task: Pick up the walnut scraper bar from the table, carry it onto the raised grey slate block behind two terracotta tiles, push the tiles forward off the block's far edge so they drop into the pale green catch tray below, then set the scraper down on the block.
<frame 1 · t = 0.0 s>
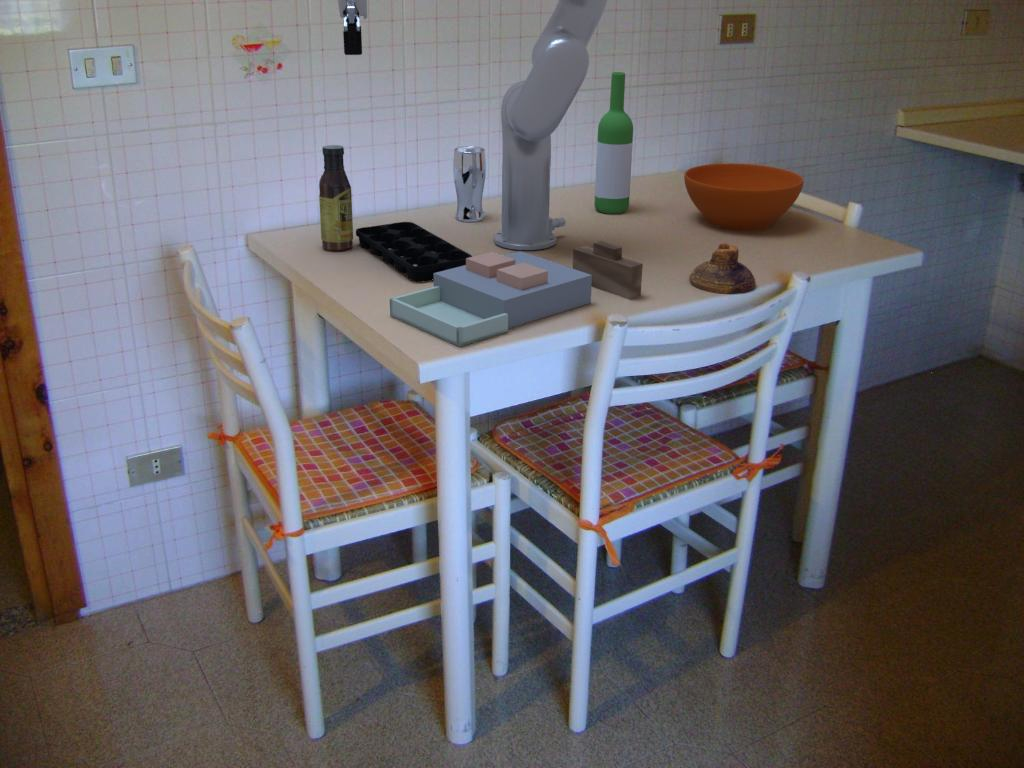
hand: (353, 51, 196), 37 cm above the table, tool pointing down, fingers open, 9 cm apart
bell: (722, 285, 194), on the table
board: (512, 301, 183), on the table
tile a: (490, 270, 182), point 5 cm above the table, touching board
scraper: (605, 288, 190), on the table
wine bottle: (611, 211, 239), on the table
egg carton: (412, 261, 205), on the table
sauce bottle: (338, 248, 211), on the table
beer glass: (469, 219, 232), on the table
tile b: (522, 281, 177), point 5 cm above the table, touching board
bowl: (738, 222, 232), on the table
tray: (447, 323, 173), on the table
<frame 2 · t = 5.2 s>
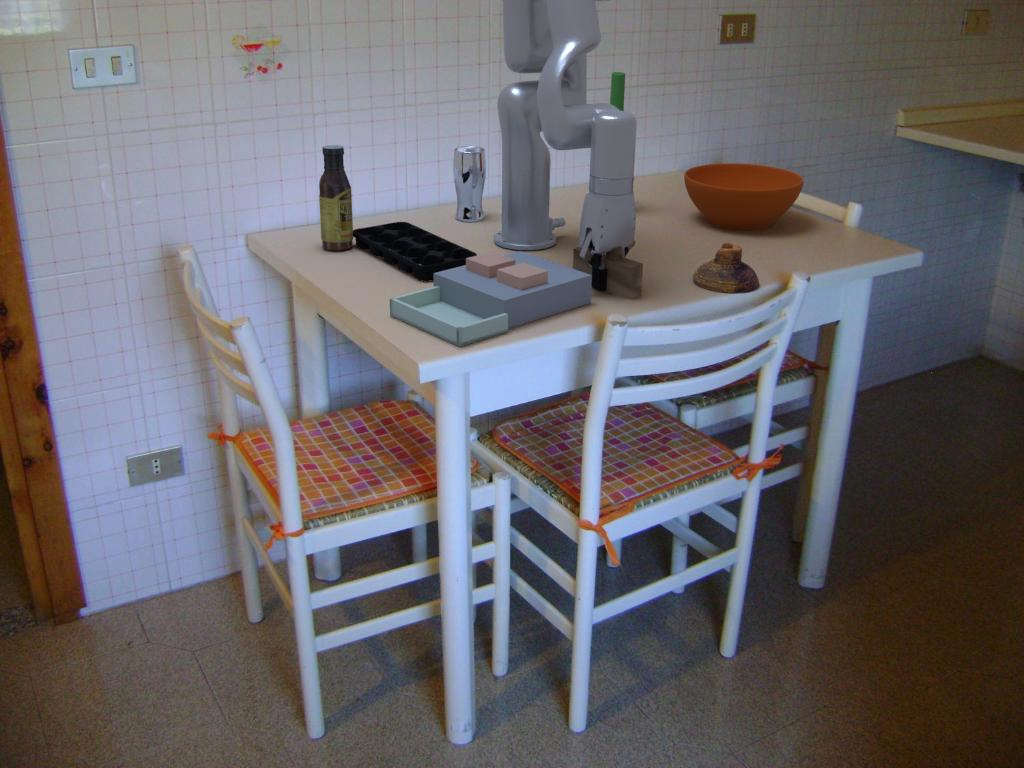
hand: (606, 286, 190), 0 cm above the table, tool pointing down, fingers closed on scraper, 3 cm apart
scraper: (605, 288, 190), on the table, touching gripper
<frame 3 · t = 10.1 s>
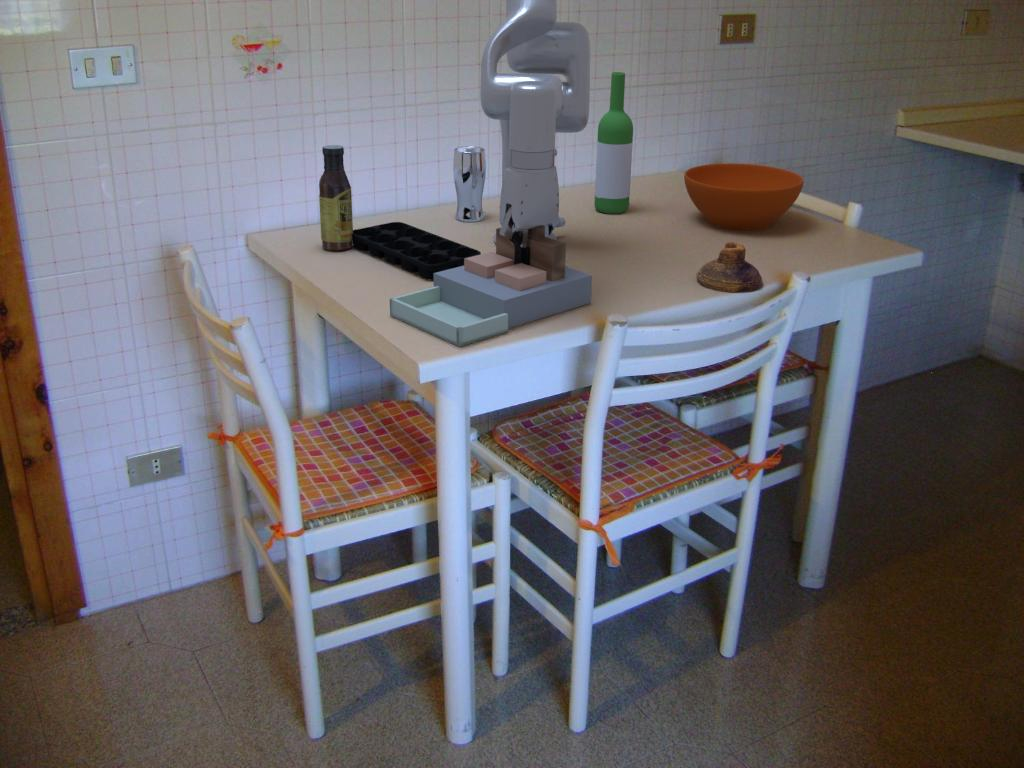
hand: (529, 265, 183), 6 cm above the table, tool pointing down, fingers closed on scraper, 3 cm apart
tile a: (488, 270, 182), point 5 cm above the table, touching gripper
scraper: (529, 269, 183), point 5 cm above the table, touching gripper
tile b: (520, 282, 177), point 5 cm above the table
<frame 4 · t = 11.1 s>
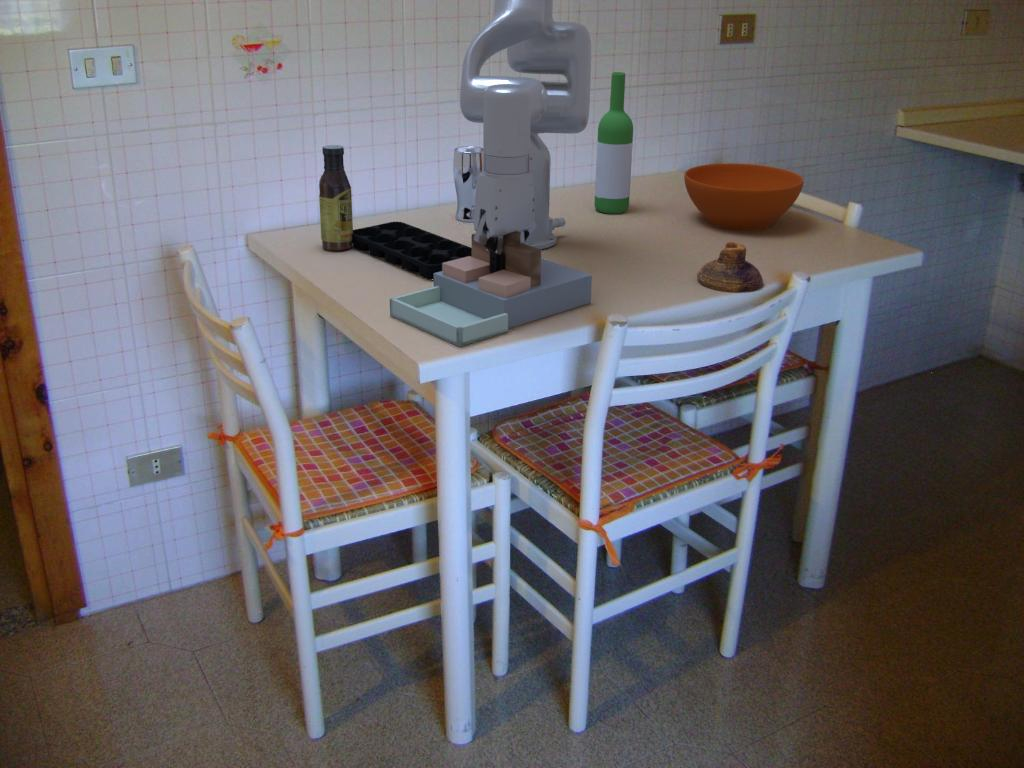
hand: (505, 271, 179), 6 cm above the table, tool pointing down, fingers closed on scraper, 3 cm apart
tile a: (467, 274, 180), point 5 cm above the table, touching scraper
scraper: (505, 275, 180), point 5 cm above the table, touching gripper, tile a, tile b
tile b: (504, 289, 173), point 5 cm above the table, touching board, scraper
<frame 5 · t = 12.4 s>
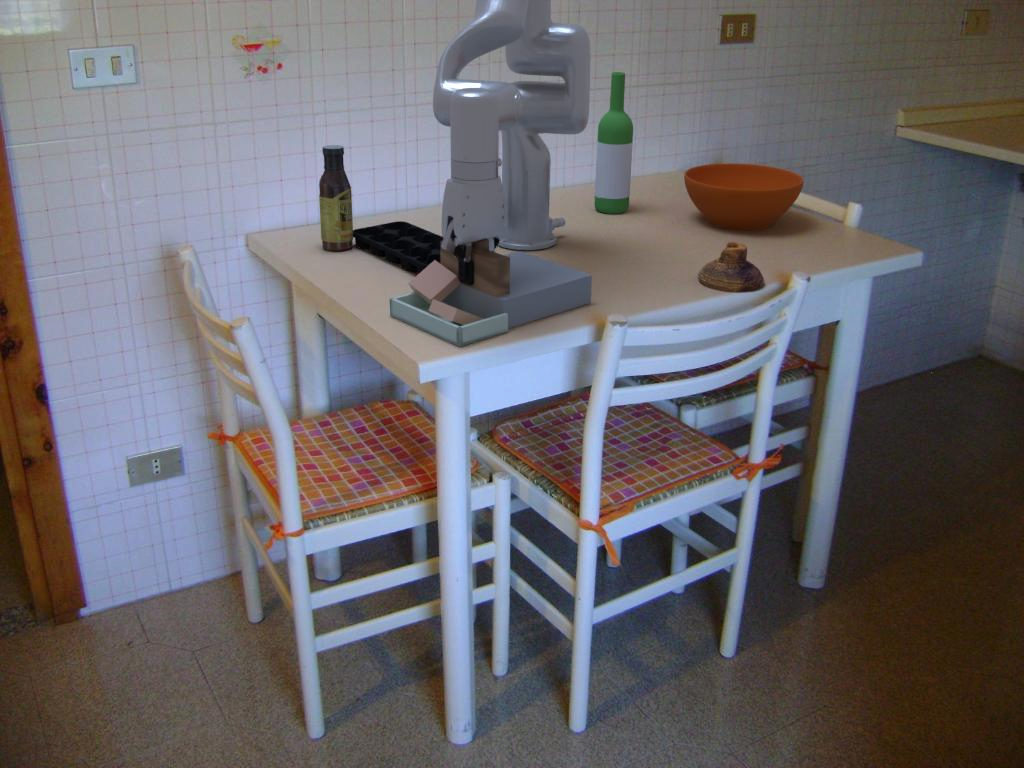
hand: (474, 279, 175), 6 cm above the table, tool pointing down, fingers closed on scraper, 3 cm apart
tile a: (436, 287, 177), point 4 cm above the table, tilted 35°, touching gripper
scraper: (474, 284, 175), point 5 cm above the table, touching board, gripper
tile b: (458, 309, 168), point 4 cm above the table, tilted 151°, touching tray
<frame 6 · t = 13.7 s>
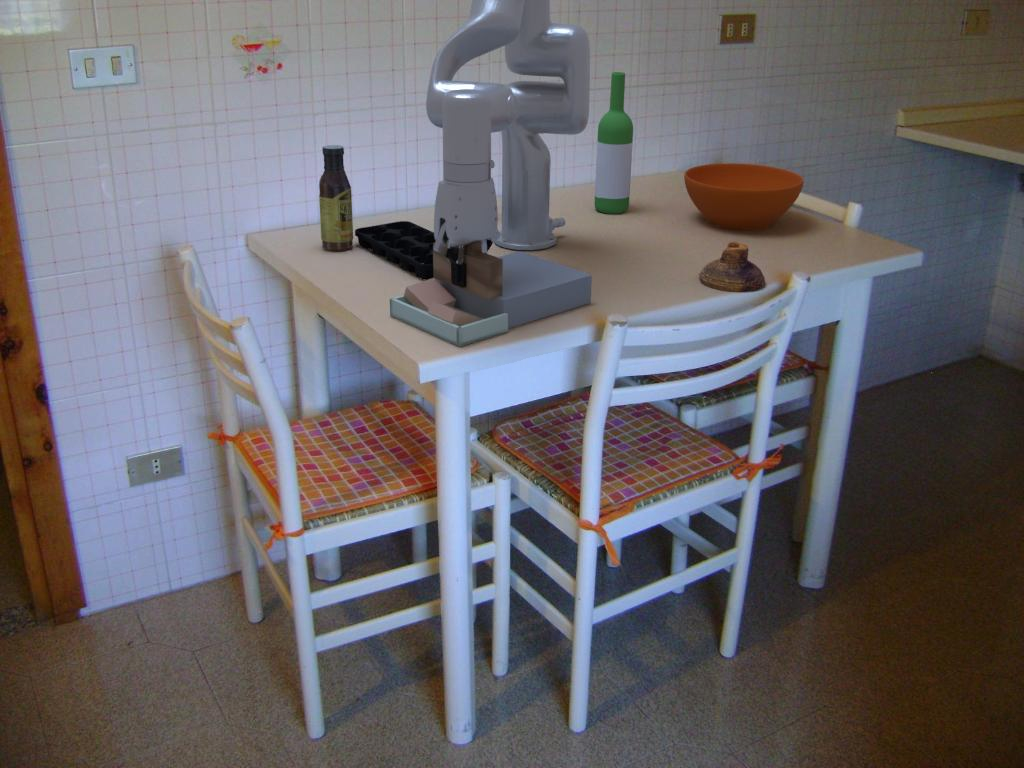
hand: (467, 282, 174), 6 cm above the table, tool pointing down, fingers closed on scraper, 3 cm apart
tile a: (428, 302, 176), point 2 cm above the table, tilted 25°, touching tray
scraper: (467, 286, 175), point 5 cm above the table, touching gripper
when the fingers open (6 cm above the table, at t = 15.0 s): scraper stays where it is, resting on board.
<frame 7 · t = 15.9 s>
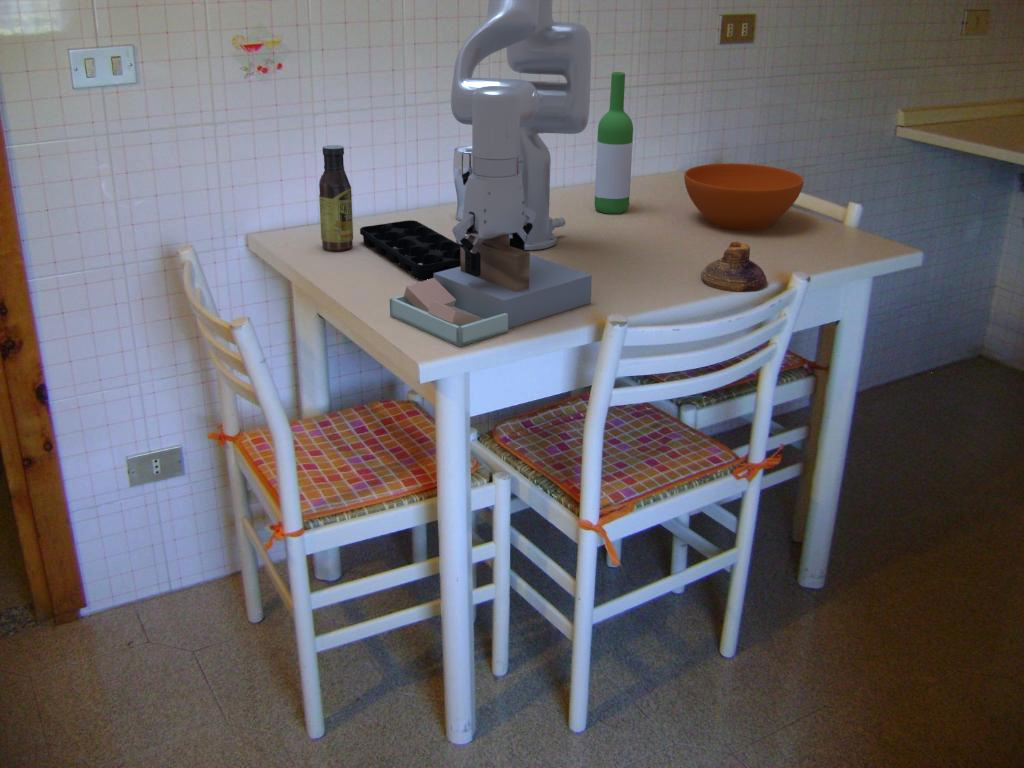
hand: (495, 268, 177), 7 cm above the table, tool pointing down, fingers open, 9 cm apart
scraper: (494, 279, 178), point 5 cm above the table, touching board
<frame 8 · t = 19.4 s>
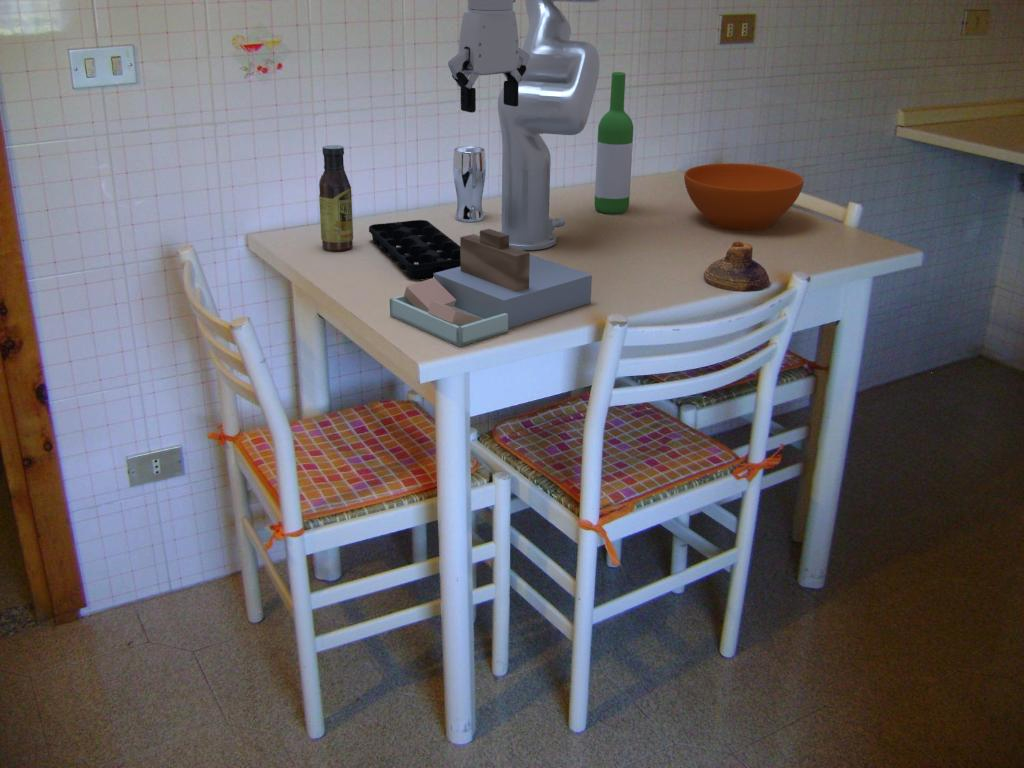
hand: (489, 108, 183), 30 cm above the table, tool pointing down, fingers open, 9 cm apart
at the end: tile a inside the target area (6.2 cm from its centre), point 1.9 cm above the table; tile b inside the target area (3.6 cm from its centre), point 3.6 cm above the table; the gripper is holding nothing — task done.
